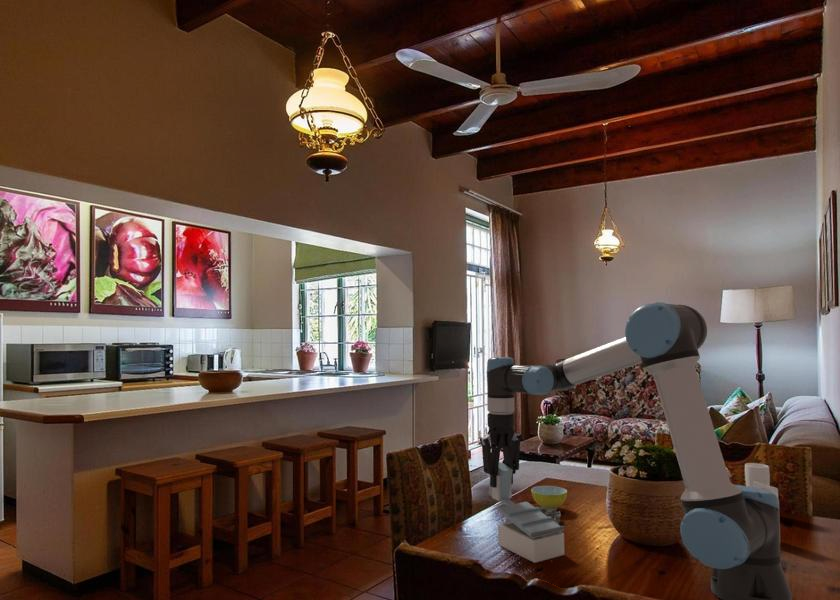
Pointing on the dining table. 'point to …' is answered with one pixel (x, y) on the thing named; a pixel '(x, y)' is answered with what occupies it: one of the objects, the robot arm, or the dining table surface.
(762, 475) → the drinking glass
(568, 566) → the dining table surface
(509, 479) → the grey stepped piece
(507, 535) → the tub
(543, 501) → the bowl
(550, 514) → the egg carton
